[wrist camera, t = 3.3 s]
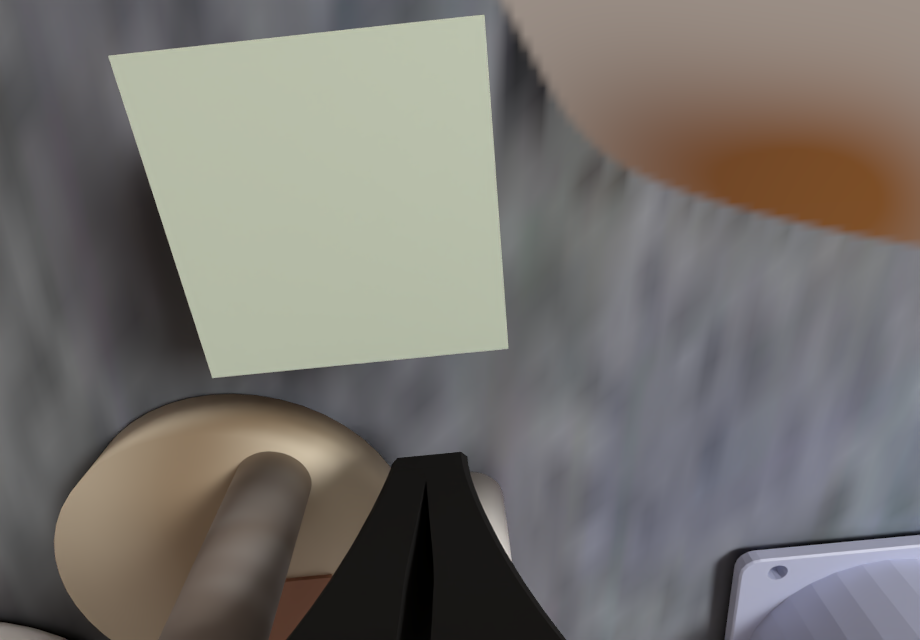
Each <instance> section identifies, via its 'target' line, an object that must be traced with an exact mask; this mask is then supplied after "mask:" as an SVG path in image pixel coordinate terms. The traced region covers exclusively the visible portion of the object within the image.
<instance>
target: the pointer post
mask: <svg viewBox="0 0 920 640" xmlns="http://www.w3.org/2000/svg"><path fill="white" fill-rule="evenodd" d="M470 475H471V478H472V481H473V484H474V487H475V489H476V492H477V495H478V497H479V500H480V502H481V504H482V507H483V509H484V511H485V513H486V515H487V517H488V519H489V521H490V523H491V525H492V527H493V529H494V531H495V533H496V535H497V537H498V539H499V541H500V543H501V544H502V546H503V548H504V550H505V551H506V553H507V555H508V557H509V558H510V560H511V562H512V559H511V551H510V544H509V536H508V528H507V521H506V513H505V506H504V498H503V492H502V489H501V488H500V486H499V484H498V483H497V482H496V481H495V480H494V479H492V478H491V477H489V476H487V475H485V474H482V473H477V472H470Z"/></svg>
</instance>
